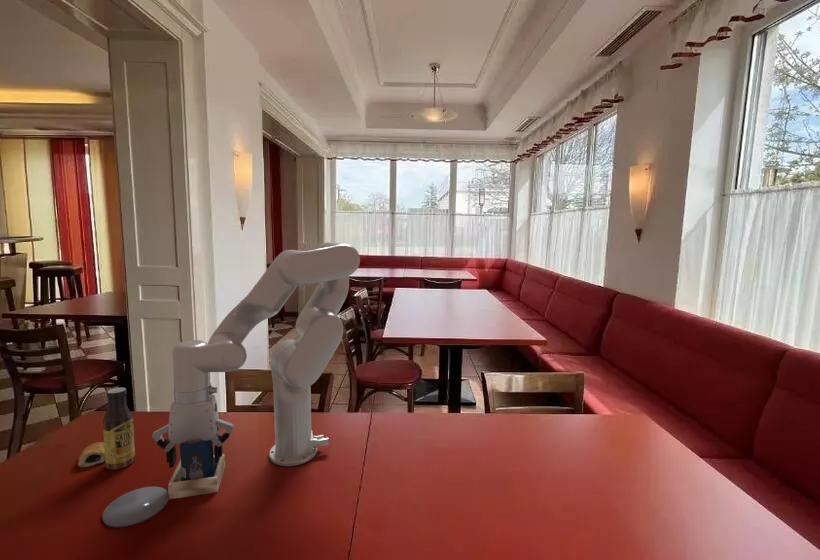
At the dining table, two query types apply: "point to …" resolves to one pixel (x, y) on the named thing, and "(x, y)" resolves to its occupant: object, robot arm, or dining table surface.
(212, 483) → the cup holder
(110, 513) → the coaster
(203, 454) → the soda can
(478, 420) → the dining table surface
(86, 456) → the pastry
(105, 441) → the sauce bottle
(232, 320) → the robot arm
